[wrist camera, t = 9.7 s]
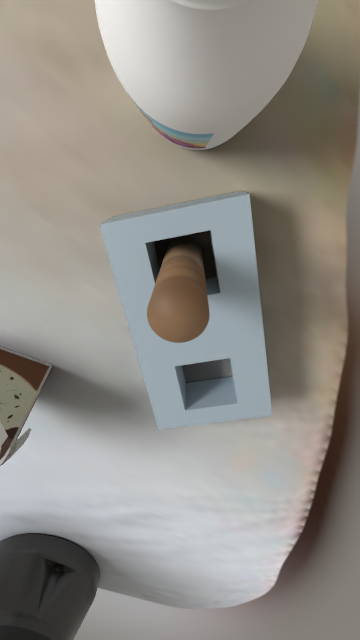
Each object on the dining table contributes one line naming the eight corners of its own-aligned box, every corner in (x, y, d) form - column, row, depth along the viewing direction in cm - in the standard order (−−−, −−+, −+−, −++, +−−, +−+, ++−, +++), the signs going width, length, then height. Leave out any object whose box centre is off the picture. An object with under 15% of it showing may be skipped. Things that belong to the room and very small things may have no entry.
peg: (204, 271, 27) (213, 338, 16) (169, 277, 27) (154, 346, 16) (199, 235, 26) (204, 280, 15) (162, 241, 26) (140, 290, 15)
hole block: (263, 387, 32) (272, 415, 28) (162, 401, 33) (158, 430, 29) (240, 190, 24) (249, 193, 21) (112, 217, 25) (99, 224, 22)
